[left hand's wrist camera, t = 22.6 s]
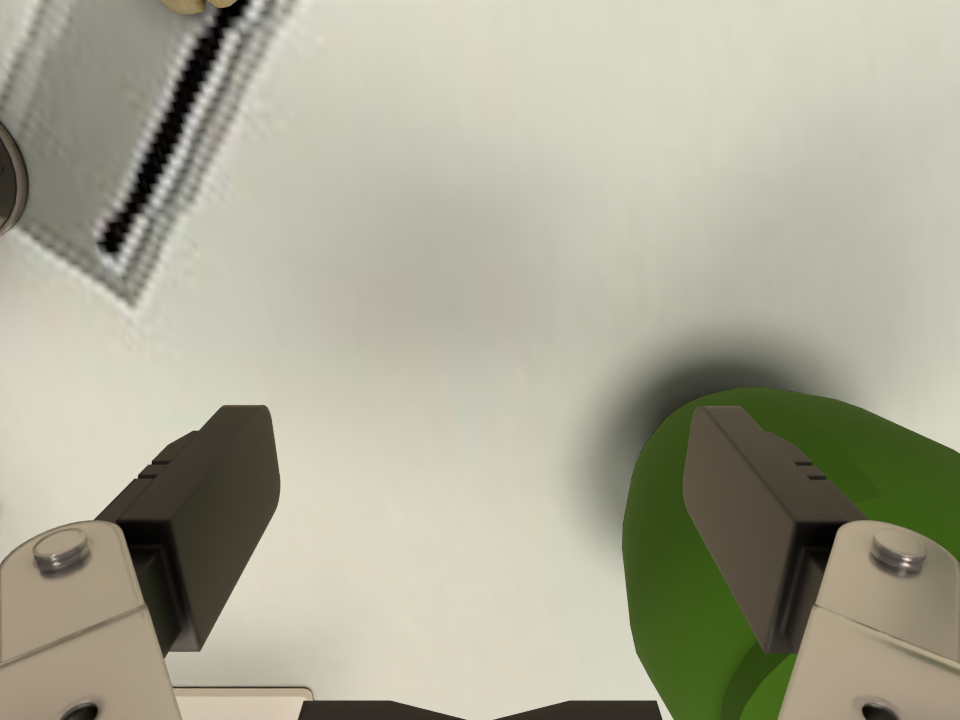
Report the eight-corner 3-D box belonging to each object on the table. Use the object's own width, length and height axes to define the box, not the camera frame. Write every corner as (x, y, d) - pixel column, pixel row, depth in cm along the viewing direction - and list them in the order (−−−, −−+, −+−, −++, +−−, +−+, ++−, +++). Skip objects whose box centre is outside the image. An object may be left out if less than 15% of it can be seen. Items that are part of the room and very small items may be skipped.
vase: (537, 501, 46) (591, 858, 24) (665, 279, 40) (911, 478, 17) (745, 582, 49) (972, 969, 27) (897, 388, 43) (1368, 681, 20)
